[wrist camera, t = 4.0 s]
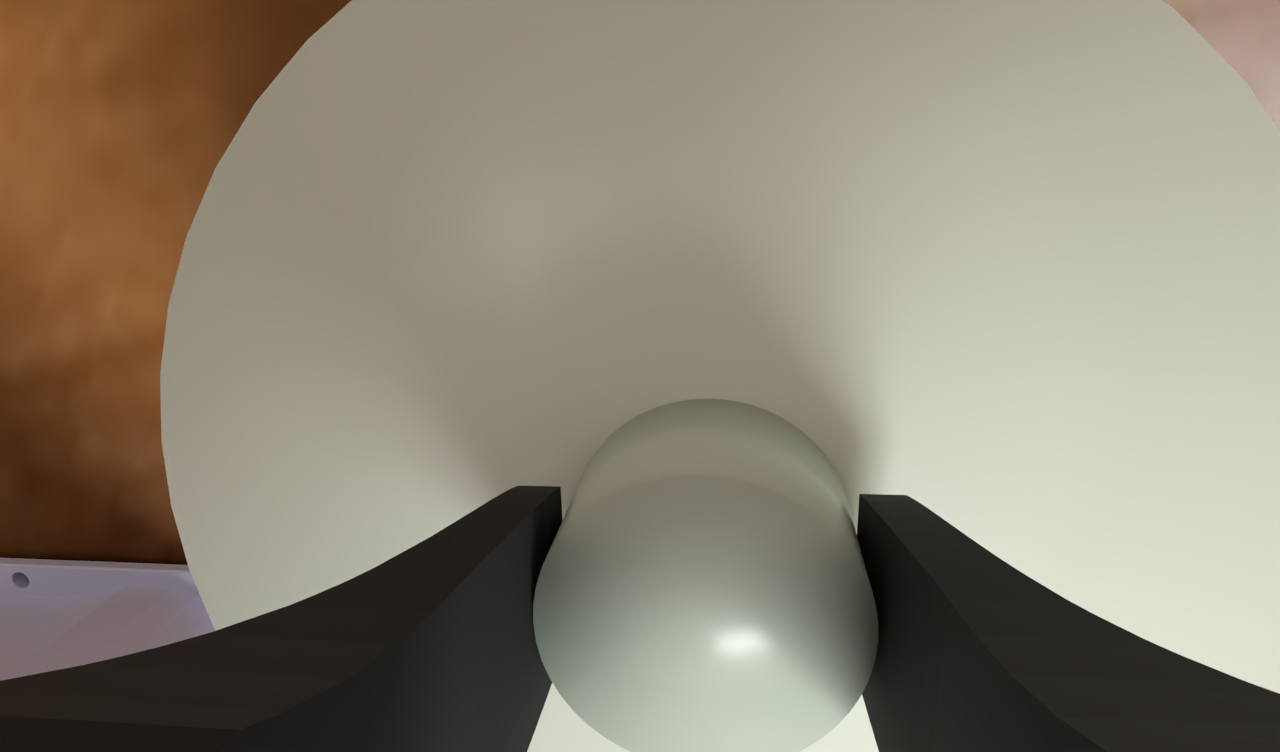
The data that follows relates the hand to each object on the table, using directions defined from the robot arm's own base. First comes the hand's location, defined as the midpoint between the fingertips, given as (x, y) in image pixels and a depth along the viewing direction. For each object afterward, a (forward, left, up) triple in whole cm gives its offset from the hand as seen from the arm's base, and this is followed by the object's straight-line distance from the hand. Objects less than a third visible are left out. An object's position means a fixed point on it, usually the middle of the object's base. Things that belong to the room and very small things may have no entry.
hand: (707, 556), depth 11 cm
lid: (0, 0, -2) cm, 2 cm away
